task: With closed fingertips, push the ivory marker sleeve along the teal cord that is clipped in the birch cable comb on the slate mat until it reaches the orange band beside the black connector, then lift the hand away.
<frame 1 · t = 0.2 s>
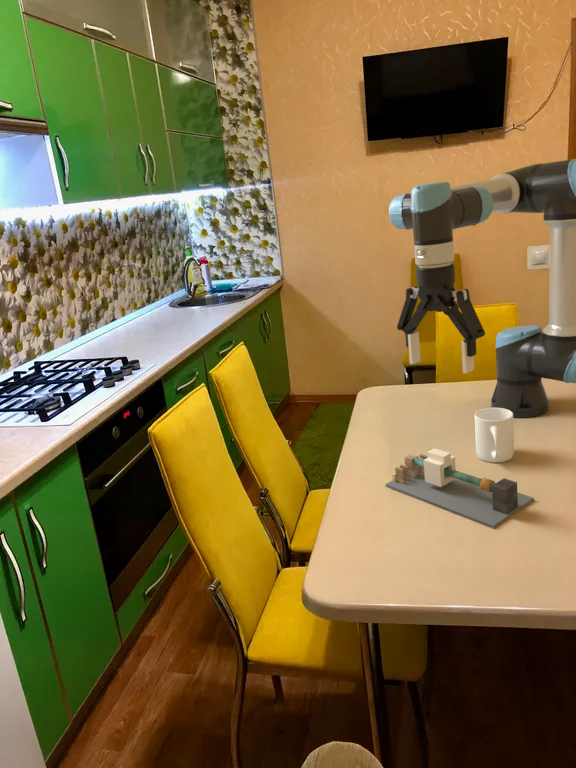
hand: (440, 366, 128), 28 cm above the table, fingers open, 13 cm apart
sleeve: (439, 466, 135), point 5 cm above the table, slide at 0.0 cm
mug: (495, 459, 146), on the table
mat: (455, 493, 133), on the table
comb rail: (455, 493, 133), resting on mat
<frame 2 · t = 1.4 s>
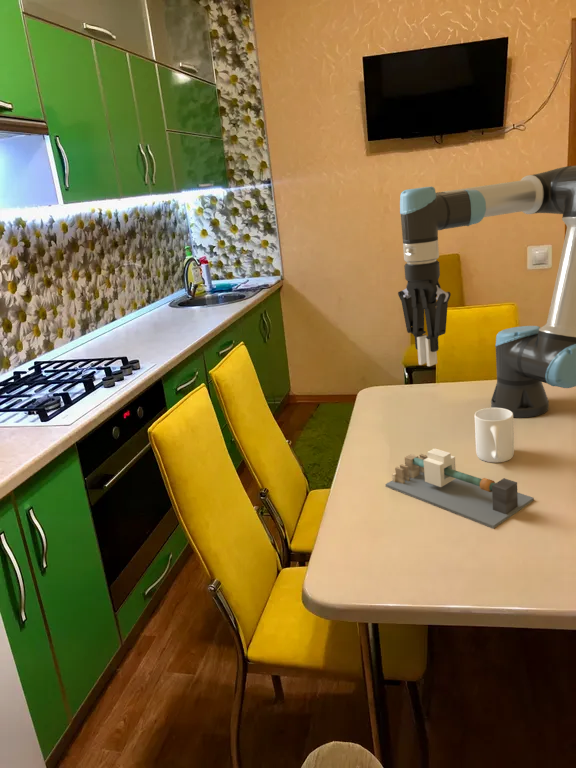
hand: (427, 363, 142), 24 cm above the table, fingers closed
nothing on the table moved.
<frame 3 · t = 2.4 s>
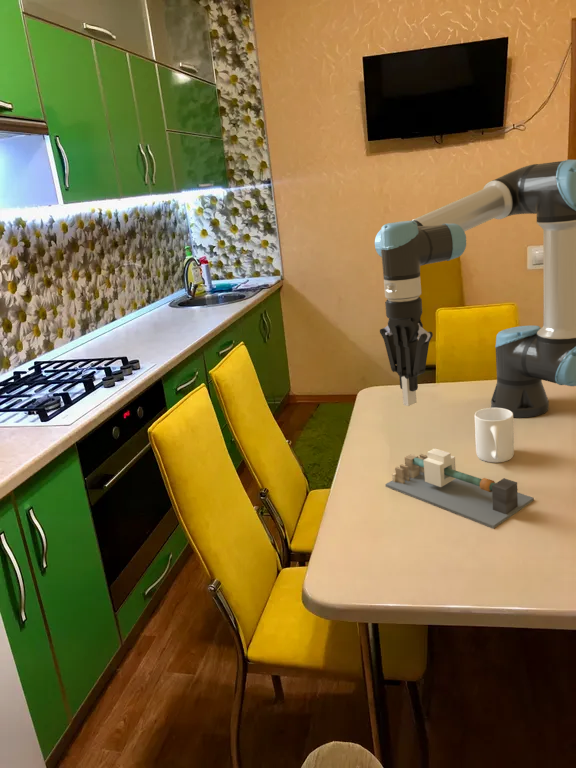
hand: (410, 403, 136), 18 cm above the table, fingers closed
nothing on the table moved.
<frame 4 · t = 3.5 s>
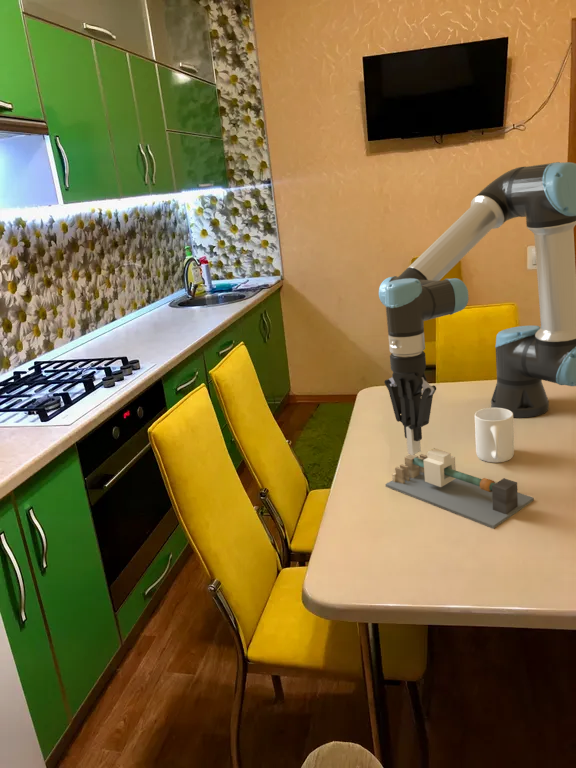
hand: (414, 452, 139), 7 cm above the table, fingers closed
nothing on the table moved.
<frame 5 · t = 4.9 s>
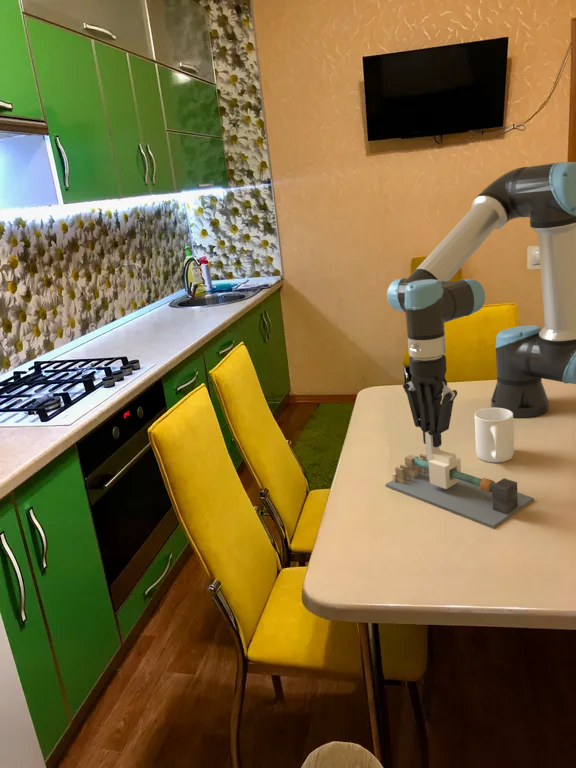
hand: (433, 458, 135), 7 cm above the table, fingers closed
sleeve: (444, 467, 133), point 5 cm above the table, slide at 1.4 cm, touching gripper
everything else where it was.
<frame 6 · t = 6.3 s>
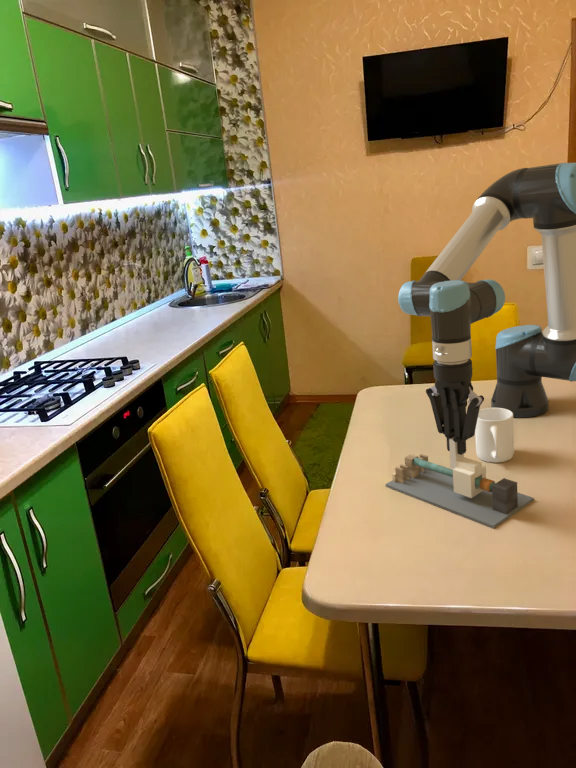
hand: (457, 466, 130), 7 cm above the table, fingers closed
sleeve: (469, 476, 129), point 5 cm above the table, slide at 7.7 cm, touching gripper
everything else where it was.
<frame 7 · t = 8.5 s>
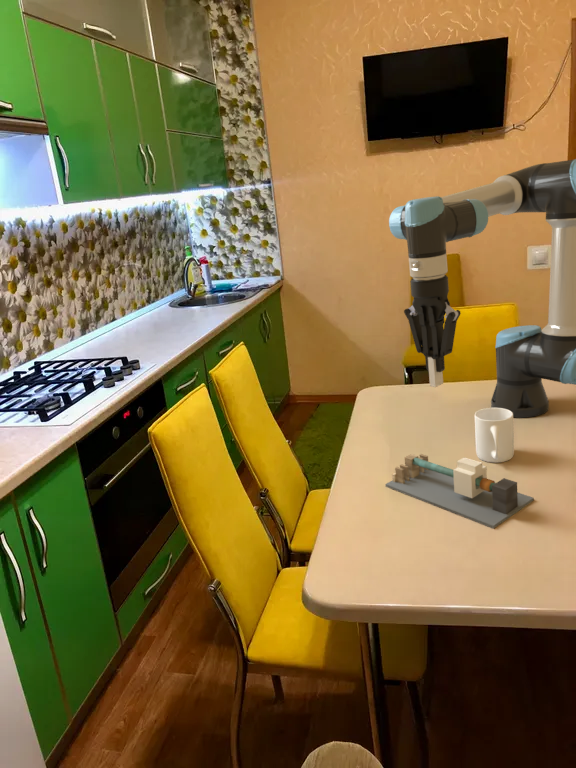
hand: (436, 384, 133), 23 cm above the table, fingers closed
sleeve: (470, 476, 128), point 5 cm above the table, slide at 7.9 cm
everything else where it was.
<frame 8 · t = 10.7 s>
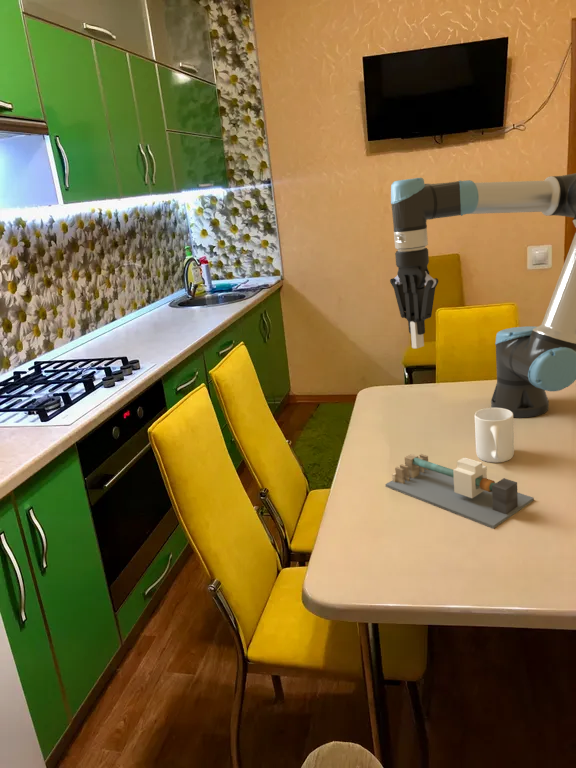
hand: (417, 346, 150), 26 cm above the table, fingers closed
nothing on the table moved.
at the end: sleeve slide at 7.9 cm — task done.
